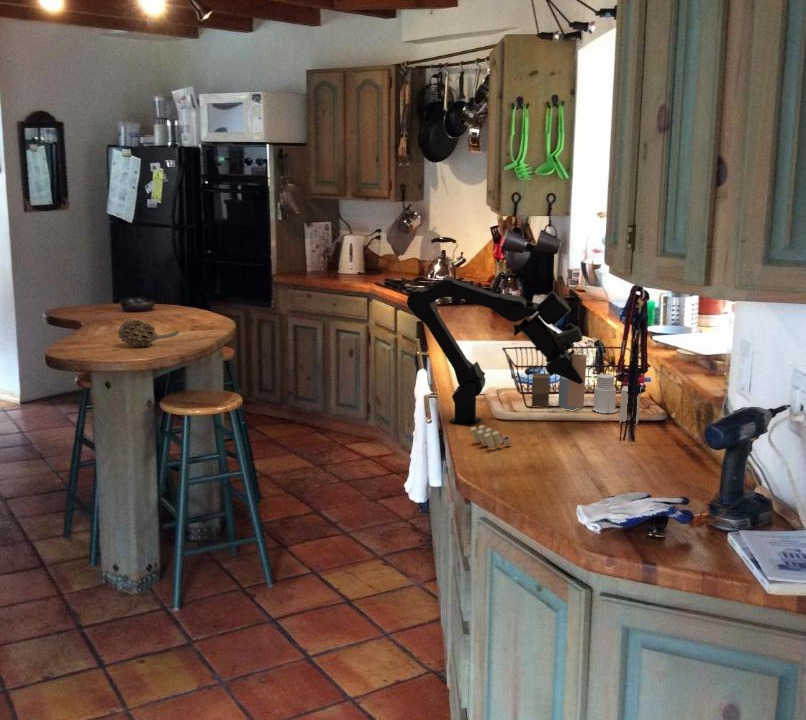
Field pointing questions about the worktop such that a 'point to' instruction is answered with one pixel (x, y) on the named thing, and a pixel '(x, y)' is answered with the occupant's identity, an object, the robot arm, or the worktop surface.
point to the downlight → (605, 394)
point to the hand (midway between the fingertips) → (582, 380)
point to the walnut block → (540, 389)
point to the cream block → (624, 405)
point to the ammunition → (489, 436)
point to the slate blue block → (564, 393)
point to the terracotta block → (574, 388)
